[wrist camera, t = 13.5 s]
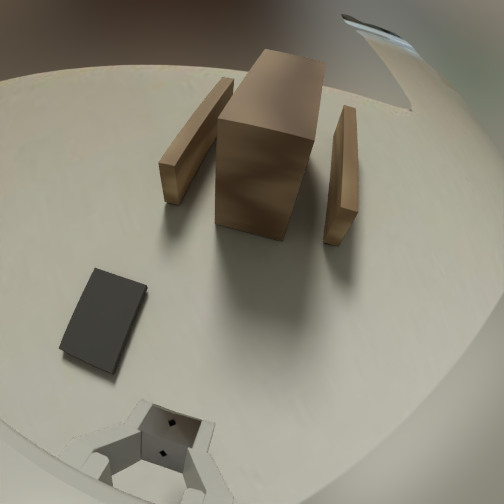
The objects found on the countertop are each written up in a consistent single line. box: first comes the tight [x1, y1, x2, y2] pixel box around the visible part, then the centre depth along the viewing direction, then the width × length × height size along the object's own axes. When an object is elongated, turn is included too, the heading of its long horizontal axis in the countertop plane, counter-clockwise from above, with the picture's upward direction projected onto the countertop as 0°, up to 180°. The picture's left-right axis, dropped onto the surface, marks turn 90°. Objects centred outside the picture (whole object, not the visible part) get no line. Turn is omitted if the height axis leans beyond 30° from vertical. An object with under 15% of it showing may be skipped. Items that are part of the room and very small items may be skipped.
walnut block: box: [215, 49, 325, 241], centre depth 21 cm, size 5×12×9 cm, turn 166°
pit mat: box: [59, 268, 148, 375], centre depth 17 cm, size 4×6×1 cm, turn 166°
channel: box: [159, 77, 358, 246], centre depth 24 cm, size 13×14×4 cm
